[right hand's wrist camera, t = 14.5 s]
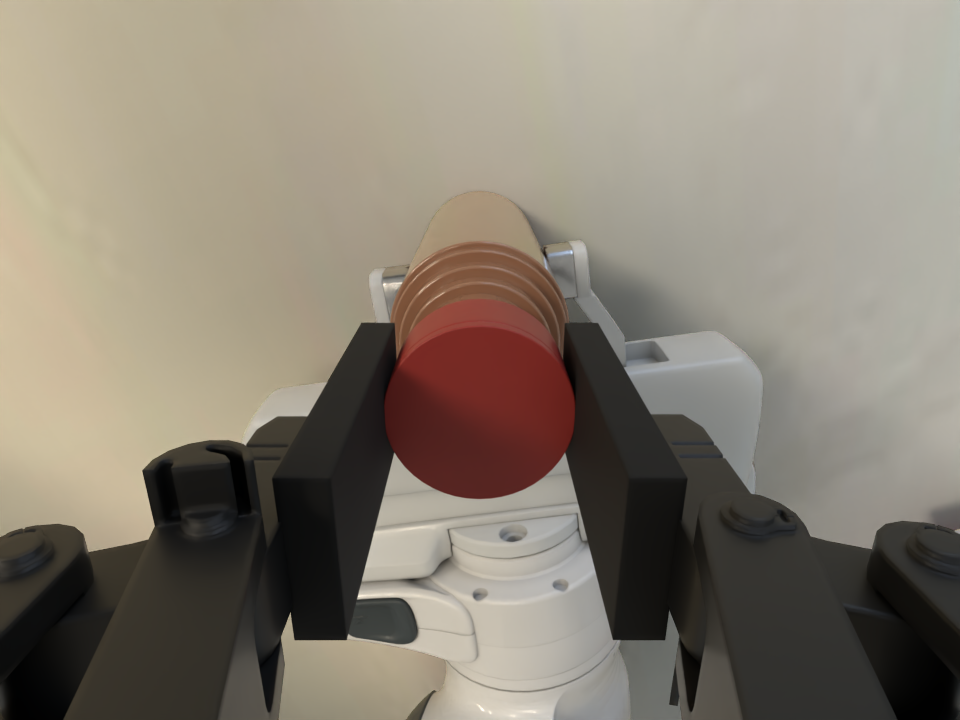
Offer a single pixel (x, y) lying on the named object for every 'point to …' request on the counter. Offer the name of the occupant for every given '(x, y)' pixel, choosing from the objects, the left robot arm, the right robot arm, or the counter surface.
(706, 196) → the counter surface
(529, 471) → the cap
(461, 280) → the bottle
